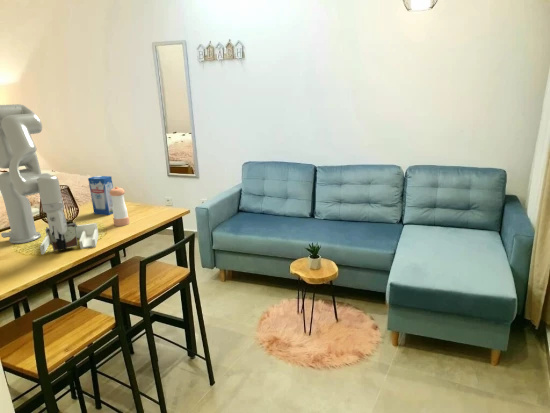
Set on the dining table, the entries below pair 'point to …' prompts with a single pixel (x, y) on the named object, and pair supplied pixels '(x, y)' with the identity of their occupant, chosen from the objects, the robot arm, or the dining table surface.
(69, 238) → the food container
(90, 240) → the rack
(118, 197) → the pepper shaker
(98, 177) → the milk carton
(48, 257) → the dining table surface
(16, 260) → the dining table surface
